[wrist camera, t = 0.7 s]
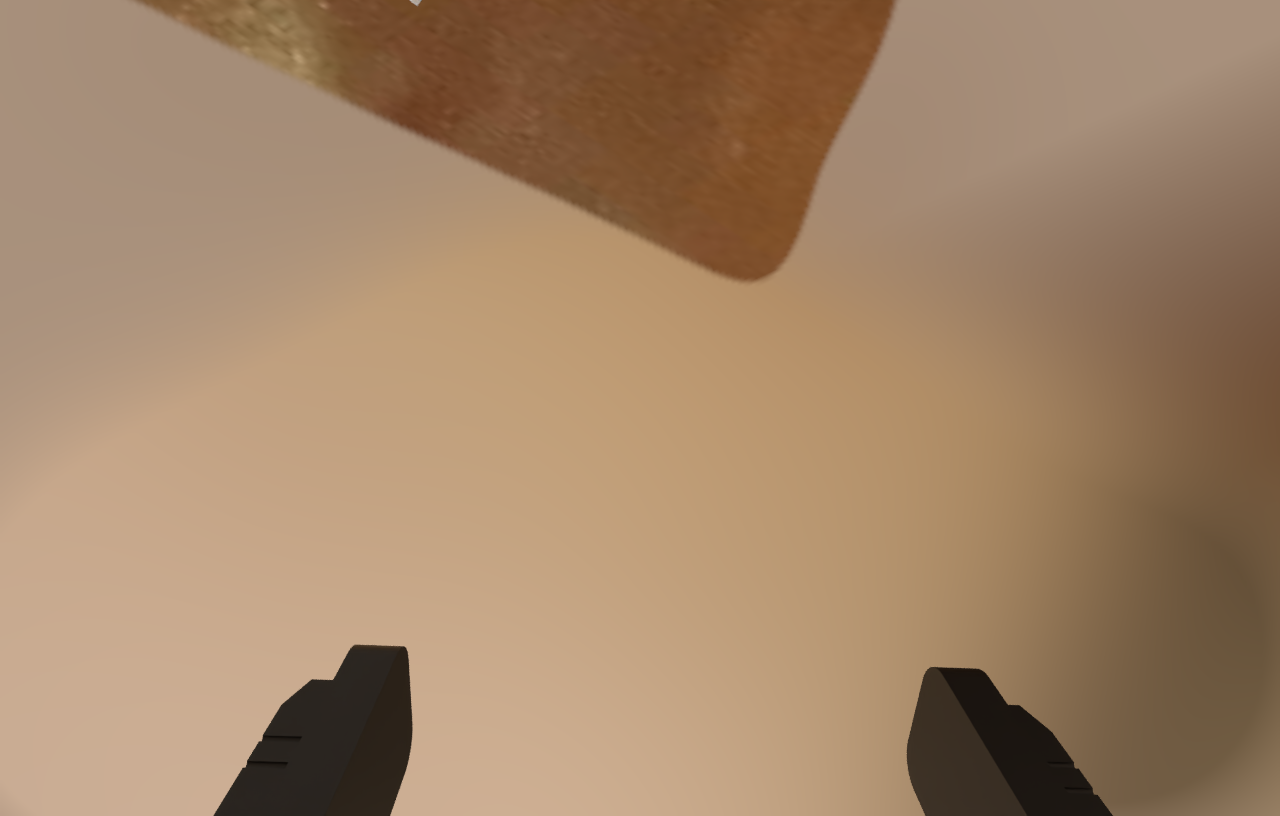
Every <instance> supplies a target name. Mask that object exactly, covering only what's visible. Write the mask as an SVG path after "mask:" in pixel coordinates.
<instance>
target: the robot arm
mask: <svg viewBox="0 0 1280 816" xmlns="http://www.w3.org/2000/svg"><path fill="white" fill-rule="evenodd" d="M411 742H412V709H411V692H410V676H409V659H408V652H407V649H406V648H405V647H404V646H377V645H354V646H353V647H352V648H351V649H350V650H349V652H348V654H347V656H346V658H345V659H344V661H343V663H342V665H341V667H340V668H339V670H338V672H337V674H336V676H335V678H334V679H333V680H313V679H312V680H311V681H309V682H308V683H307V684H306V685H305V686H303V687H302V688H301V689H300V690H299V691H297V692H296V693H295V694H294V695H293V696H291V697H290V698H289V699H288V700H287V701H285V702H284V703H283V704H282V705H281V707H280V708H279V710H278V712H277V713H276V715H275V716H274V718H273V720H272V721H271V723H270V724H269V726H268V728H267V729H266V731H265V733H264V734H263V739H262V741H260V742H258V744H257V746H256V748H255V749H254V750H253V752H252V754H251V755H250V757H249V759H248V760H247V765H246V768H242V770H241V772H240V773H239V775H238V777H237V778H236V780H235V782H234V783H233V785H232V787H231V788H230V790H229V791H228V793H227V795H226V796H225V798H224V799H223V801H222V803H221V804H220V806H219V808H218V809H217V811H216V813H215V814H214V816H390V814H391V812H392V809H393V806H394V803H395V800H396V797H397V794H398V791H399V789H400V786H401V783H402V780H403V777H404V774H405V771H406V768H407V764H408V760H409V755H410V749H411ZM907 764H908V771H909V776H910V780H911V783H912V786H913V789H914V791H915V793H916V795H917V798H918V800H919V802H920V804H921V807H922V809H923V811H924V813H925V816H1113V815H1112V814H1111V813H1110V811H1109V810H1108V808H1107V807H1106V806H1105V804H1104V803H1103V802H1102V800H1101V799H1100V797H1099V796H1098V795H1094V794H1093V788H1092V787H1091V785H1090V784H1089V782H1088V781H1087V780H1086V778H1085V777H1084V776H1083V774H1082V773H1081V771H1080V770H1079V769H1075V767H1074V762H1073V761H1072V759H1071V758H1070V756H1069V755H1068V754H1067V752H1066V751H1065V749H1064V748H1063V747H1062V746H1061V744H1060V743H1059V741H1058V740H1057V738H1056V737H1055V736H1054V734H1053V733H1052V732H1051V731H1050V730H1049V729H1048V728H1046V727H1045V726H1044V725H1043V724H1041V723H1040V722H1039V721H1038V720H1037V719H1035V718H1034V717H1033V716H1032V715H1031V714H1029V713H1028V712H1027V711H1026V710H1024V709H1023V708H1022V707H1021V706H1019V705H1008V704H1007V703H1006V702H1005V700H1004V699H1003V697H1002V696H1001V694H1000V693H999V691H998V690H997V689H996V687H995V686H994V684H993V683H992V681H991V680H990V678H989V677H988V676H987V674H986V673H985V672H983V671H982V670H980V669H970V668H942V667H931V668H929V669H928V670H927V671H926V673H925V675H924V677H923V681H922V685H921V689H920V693H919V698H918V702H917V706H916V710H915V714H914V718H913V723H912V727H911V731H910V735H909V739H908V744H907Z"/></svg>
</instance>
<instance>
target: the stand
mask: <svg viewBox="0 0 1280 816" xmlns="http://www.w3.org/2000/svg"><path fill="white" fill-rule="evenodd" d="M410 1H411V2H413V3H414V4H415V5H418V4H419V3H420V1H421V0H410Z"/></svg>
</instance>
